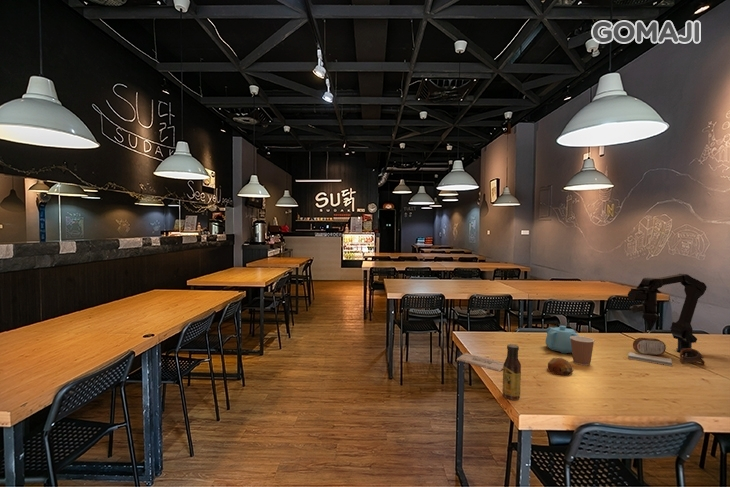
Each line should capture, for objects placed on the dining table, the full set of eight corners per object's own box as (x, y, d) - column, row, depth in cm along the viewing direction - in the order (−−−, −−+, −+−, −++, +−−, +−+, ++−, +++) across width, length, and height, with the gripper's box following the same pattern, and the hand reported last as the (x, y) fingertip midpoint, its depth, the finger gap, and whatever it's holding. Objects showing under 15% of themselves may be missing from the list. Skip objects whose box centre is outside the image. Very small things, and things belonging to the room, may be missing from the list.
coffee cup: (592, 361, 173) (592, 337, 173) (596, 368, 164) (596, 342, 164) (568, 358, 177) (568, 334, 177) (570, 364, 168) (571, 339, 168)
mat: (629, 352, 187) (629, 350, 187) (671, 359, 176) (671, 356, 176) (628, 358, 178) (628, 355, 178) (672, 366, 167) (672, 363, 167)
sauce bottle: (499, 393, 135) (500, 342, 135) (514, 393, 135) (515, 342, 135) (507, 401, 128) (508, 348, 128) (524, 401, 129) (524, 347, 129)
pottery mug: (712, 368, 166) (707, 354, 165) (691, 375, 168) (686, 361, 166) (691, 353, 178) (686, 341, 176) (671, 360, 180) (667, 348, 178)
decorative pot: (545, 352, 187) (545, 327, 187) (545, 344, 201) (546, 321, 201) (580, 357, 179) (581, 331, 179) (578, 349, 193) (579, 324, 193)
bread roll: (570, 378, 160) (569, 360, 163) (576, 376, 151) (574, 357, 154) (546, 375, 163) (545, 358, 166) (550, 373, 154) (549, 354, 158)
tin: (662, 354, 184) (662, 338, 185) (667, 356, 181) (667, 340, 182) (632, 352, 186) (632, 336, 186) (636, 354, 183) (636, 338, 183)
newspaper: (510, 366, 167) (510, 361, 167) (500, 375, 158) (500, 370, 158) (466, 354, 182) (466, 350, 182) (455, 363, 174) (455, 358, 173)
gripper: (631, 297, 202) (631, 324, 202) (630, 301, 187) (630, 330, 187) (656, 299, 195) (656, 327, 195) (657, 304, 180) (657, 334, 180)
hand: (649, 329), depth 189 cm, fingers open, 5 cm apart
